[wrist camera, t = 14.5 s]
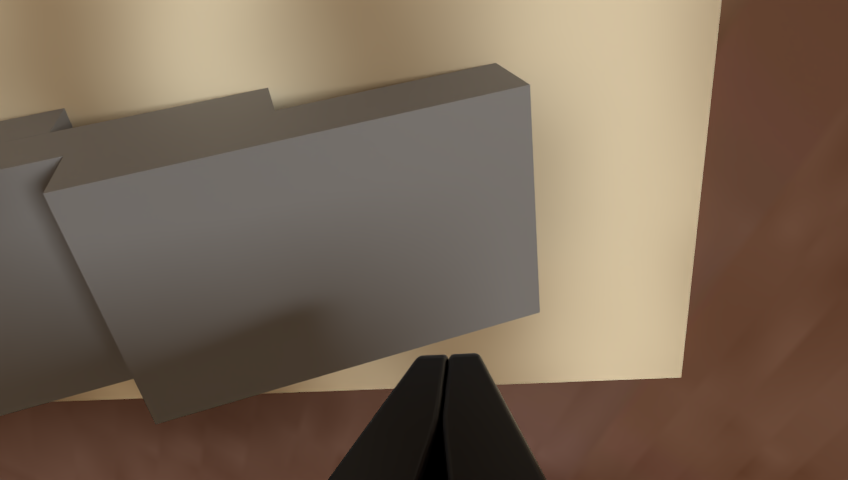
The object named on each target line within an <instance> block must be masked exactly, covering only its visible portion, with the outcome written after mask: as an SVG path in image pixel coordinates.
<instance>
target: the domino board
mask: <svg viewBox="0 0 848 480" xmlns="http://www.w3.org/2000/svg"><path fill="white" fill-rule="evenodd" d="M721 1H722V0H0V121H3V120H8V119H13V118H18V117H23V116H28V115H33V114H38V113H43V112H48V111H53V110H58V109H63V108H65V111H66V113H67V115H68V117H69V120H70V122H71V124H72V127H73V128H75V127H80V126H84V125H89V124H94V123H99V122H104V121H109V120H114V119H118V118H123V117H128V116H133V115H138V114H143V113H148V112H152V111H157V110H162V109H167V108H172V107H177V106H182V105H186V104H191V103H196V102H201V101H206V100H211V99H216V98H220V97H225V96H230V95H235V94H240V93H245V92H250V91H254V90H259V89H264V88H268V89H269V92H270V96H271V99H272V103H273V106H274V109H275V110H279V109H284V108H289V107H293V106H298V105H302V104H307V103H312V102H316V101H321V100H326V99H330V98H335V97H340V96H344V95H349V94H354V93H358V92H363V91H368V90H372V89H377V88H382V87H386V86H391V85H395V84H400V83H405V82H409V81H414V80H419V79H423V78H428V77H433V76H437V75H442V74H447V73H451V72H456V71H461V70H465V69H470V68H474V67H479V66H484V65H488V64H493V63H497V64H498V65H500V66H502V67H503V68H505V69H506V70H508V71H509V72H511V73H513V74H514V75H516V76H517V77H519V78H520V79H522V80H524V81H525V82H527V83H528V84H530V95H531V118H532V141H533V164H534V187H535V210H536V233H537V256H538V279H539V302H540V313H536V314H533V315H529V316H526V317H522V318H519V319H516V320H512V321H509V322H505V323H502V324H498V325H495V326H492V327H488V328H485V329H481V330H478V331H474V332H471V333H468V334H464V335H461V336H457V337H454V338H450V339H447V340H444V341H440V342H437V343H433V344H430V345H426V346H423V347H420V348H416V349H413V350H409V351H406V352H402V353H399V354H396V355H392V356H389V357H385V358H382V359H378V360H375V361H372V362H368V363H365V364H361V365H358V366H354V367H351V368H348V369H344V370H341V371H337V372H334V373H330V374H327V375H323V376H320V377H317V378H313V379H310V380H306V381H303V382H299V383H296V384H293V385H289V386H286V387H282V388H279V389H275V390H272V391H269V392H265V393H262V394H266V393H292V392H318V391H343V390H369V389H394V388H395V387H396V385H397V384H398V383H399V381H400V380H401V379H402V377H403V376H404V374H405V373H406V372H407V370H408V369H409V368H410V366H411V365H412V363H413V362H414V361H415V359H416V358H417V357H419V356H422V355H442V354H443V355H446V356H447V357H448V359H449V357H450V356H451V355H452V354H465V353H477V354H479V355H480V356H481V358H482V359H483V361H484V363H485V365H486V367H487V369H488V371H489V373H490V374H491V376H492V378H493V380H494V382H495V384H496V385H498V384H524V383H550V382H576V381H602V380H628V379H653V378H679V377H681V373H682V364H683V354H684V345H685V336H686V326H687V317H688V308H689V299H690V289H691V280H692V271H693V261H694V252H695V243H696V233H697V224H698V215H699V206H700V196H701V187H702V178H703V168H704V159H705V150H706V140H707V131H708V122H709V112H710V103H711V94H712V85H713V75H714V66H715V57H716V47H717V38H718V29H719V19H720V10H721ZM137 398H143V397H142V395H141V393H140V391H139V389H138V387H137V385H136V383H135V381H134V379H131V380H128V381H124V382H120V383H117V384H113V385H110V386H106V387H102V388H99V389H95V390H92V391H88V392H84V393H81V394H77V395H74V396H70V397H67V398H63V399H59V400H56V401H52V402H59V401H85V400H111V399H137Z"/></svg>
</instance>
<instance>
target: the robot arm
mask: <svg viewBox="0 0 848 480" xmlns="http://www.w3.org/2000/svg"><path fill="white" fill-rule="evenodd" d="M328 480H546V478H545V476H544V474H543V472H542V470H541V469H540V467H539V465H538V463H537V461H536V459H535V457H534V455H533V453H532V452H531V450H530V448H529V446H528V444H527V442H526V440H525V438H524V437H523V435H522V433H521V431H520V429H519V427H518V425H517V423H516V422H515V420H514V418H513V416H512V414H511V412H510V410H509V408H508V406H507V405H506V403H505V401H504V399H503V397H502V395H501V393H500V391H499V390H498V388H497V386H496V384H495V382H494V380H493V378H492V376H491V374H490V373H489V371H488V369H487V367H486V365H485V363H484V361H483V359H482V358H481V356H480V355H479V354H477V353H465V354H452V355H451V356H450V357H449V359H448V357H447V356H446V355H443V354H442V355H422V356H419V357H417V358H416V359H415V361H414V362H413V363H412V365H411V366H410V368H409V369H408V370H407V372H406V373H405V374H404V376H403V377H402V379H401V380H400V381H399V383H398V384H397V385H396V387H395V388H394V390H393V391H392V392H391V394H390V395H389V396H388V398H387V399H386V401H385V402H384V403H383V405H382V406H381V408H380V409H379V410H378V412H377V413H376V414H375V416H374V417H373V419H372V420H371V421H370V423H369V424H368V425H367V427H366V428H365V430H364V431H363V432H362V434H361V435H360V436H359V438H358V439H357V441H356V442H355V443H354V445H353V446H352V447H351V449H350V450H349V452H348V453H347V454H346V456H345V457H344V458H343V460H342V461H341V463H340V464H339V465H338V467H337V468H336V469H335V471H334V472H333V474H332V475H331V476H330V478H329V479H328Z"/></svg>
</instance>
